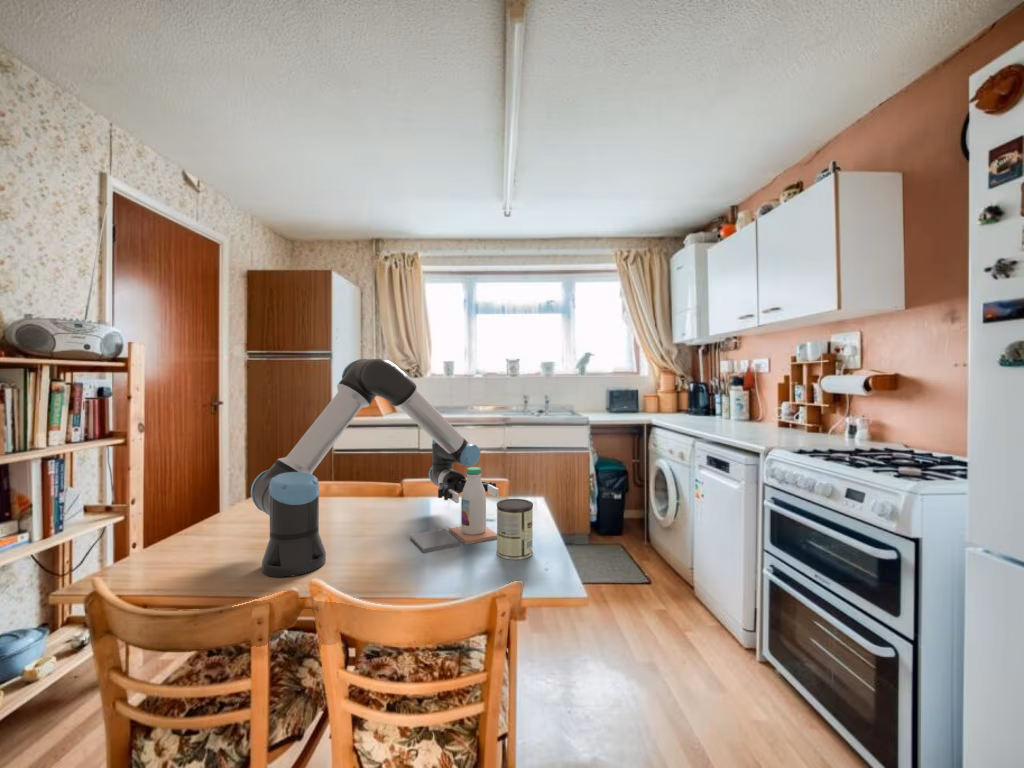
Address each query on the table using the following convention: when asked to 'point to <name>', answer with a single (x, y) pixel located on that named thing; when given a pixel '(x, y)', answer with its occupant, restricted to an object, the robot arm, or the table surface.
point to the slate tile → (434, 540)
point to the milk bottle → (473, 503)
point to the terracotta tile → (473, 538)
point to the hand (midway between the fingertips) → (478, 495)
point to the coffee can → (514, 529)
